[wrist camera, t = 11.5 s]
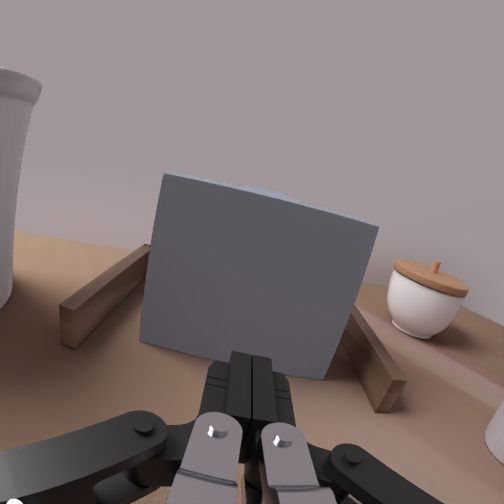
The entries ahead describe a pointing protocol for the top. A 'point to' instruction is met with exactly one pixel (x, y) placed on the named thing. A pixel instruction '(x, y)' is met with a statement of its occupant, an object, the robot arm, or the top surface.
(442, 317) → the lidded jar
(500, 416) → the coffee cup
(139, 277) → the walnut bay
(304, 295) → the slate T block
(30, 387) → the top surface
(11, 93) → the utensil holder
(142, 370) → the top surface
